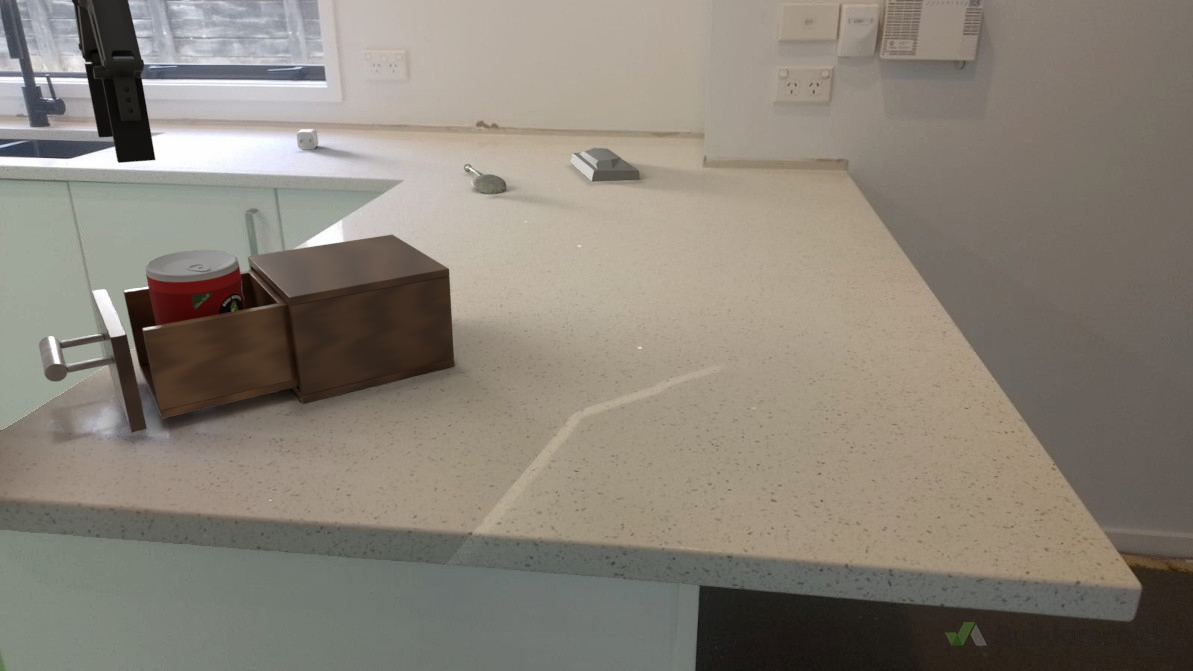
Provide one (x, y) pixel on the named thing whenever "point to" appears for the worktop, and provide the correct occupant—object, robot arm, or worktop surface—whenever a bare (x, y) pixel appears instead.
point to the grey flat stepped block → (603, 165)
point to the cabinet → (362, 312)
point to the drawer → (188, 352)
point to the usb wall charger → (307, 139)
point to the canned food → (194, 285)
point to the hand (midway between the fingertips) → (125, 148)
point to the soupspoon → (486, 182)
